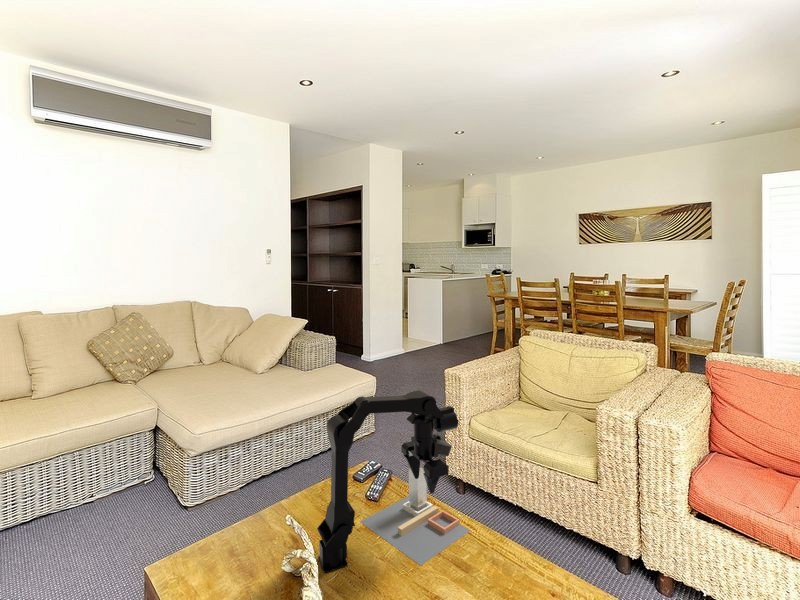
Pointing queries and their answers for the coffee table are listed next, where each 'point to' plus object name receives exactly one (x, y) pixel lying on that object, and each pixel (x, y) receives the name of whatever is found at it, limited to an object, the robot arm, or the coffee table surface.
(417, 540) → the door board
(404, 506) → the socket
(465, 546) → the coffee table surface
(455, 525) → the socket
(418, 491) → the block
